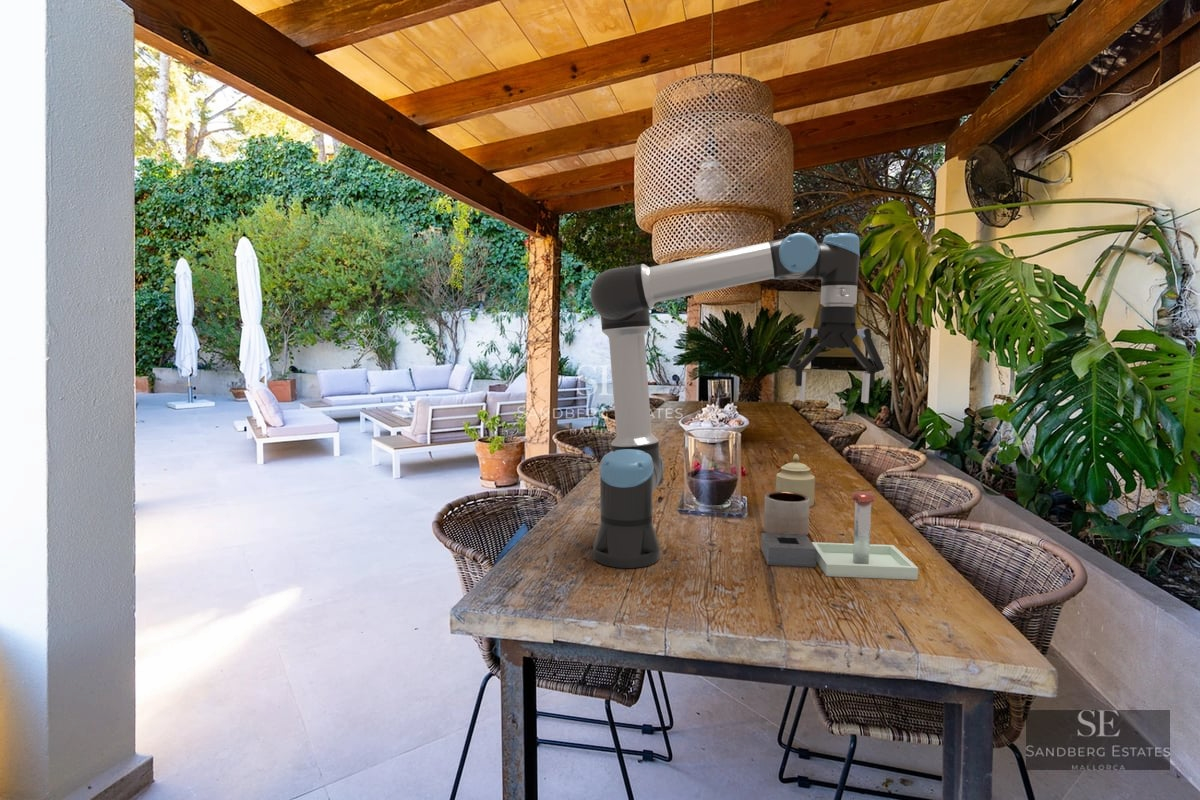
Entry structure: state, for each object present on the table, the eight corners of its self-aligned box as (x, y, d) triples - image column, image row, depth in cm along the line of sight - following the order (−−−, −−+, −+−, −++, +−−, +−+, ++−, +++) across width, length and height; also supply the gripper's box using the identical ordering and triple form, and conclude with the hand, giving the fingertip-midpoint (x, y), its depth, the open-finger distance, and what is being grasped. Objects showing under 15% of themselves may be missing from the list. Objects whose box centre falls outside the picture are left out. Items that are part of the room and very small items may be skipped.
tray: (826, 576, 128) (826, 564, 127) (810, 552, 141) (811, 542, 141) (917, 579, 126) (918, 567, 125) (892, 555, 139) (893, 545, 139)
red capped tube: (853, 566, 132) (855, 496, 130) (847, 558, 136) (849, 491, 134) (874, 566, 131) (877, 496, 130) (868, 559, 135) (870, 491, 134)
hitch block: (768, 565, 134) (768, 547, 133) (761, 549, 144) (761, 532, 143) (815, 567, 133) (816, 549, 132) (805, 551, 143) (805, 534, 142)
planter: (811, 541, 149) (812, 503, 148) (764, 538, 151) (765, 500, 150) (805, 528, 160) (806, 492, 159) (762, 525, 162) (763, 490, 161)
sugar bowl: (763, 496, 192) (764, 448, 191) (795, 494, 194) (797, 447, 193) (786, 509, 178) (788, 457, 176) (821, 507, 180) (823, 456, 178)
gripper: (782, 304, 134) (778, 401, 136) (903, 305, 131) (897, 404, 133) (777, 306, 141) (773, 398, 144) (891, 307, 138) (885, 401, 140)
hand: (833, 401), depth 138 cm, fingers open, 13 cm apart
